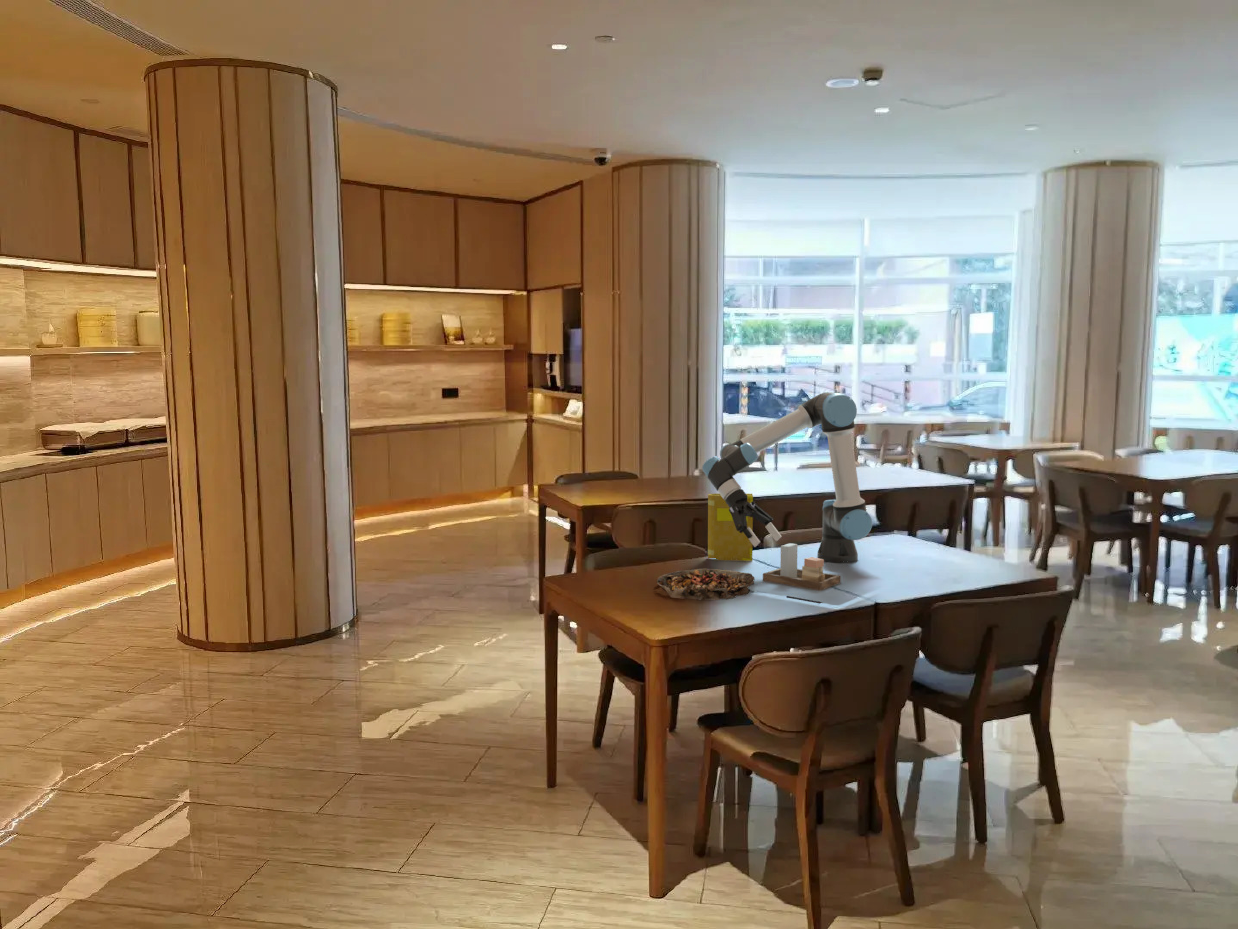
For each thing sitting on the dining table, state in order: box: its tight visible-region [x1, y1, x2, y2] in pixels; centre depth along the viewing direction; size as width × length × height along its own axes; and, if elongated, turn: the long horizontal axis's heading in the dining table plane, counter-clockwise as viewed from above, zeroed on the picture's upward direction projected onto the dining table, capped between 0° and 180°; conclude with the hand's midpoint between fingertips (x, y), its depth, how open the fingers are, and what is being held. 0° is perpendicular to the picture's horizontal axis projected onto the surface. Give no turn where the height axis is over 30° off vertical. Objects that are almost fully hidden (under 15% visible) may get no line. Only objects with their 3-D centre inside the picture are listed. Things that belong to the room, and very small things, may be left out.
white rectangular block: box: [780, 542, 798, 578], centre depth 329 cm, size 6×3×12 cm, turn 139°
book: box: [707, 493, 754, 562], centre depth 368 cm, size 17×7×25 cm, turn 84°
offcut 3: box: [802, 575, 825, 582], centre depth 323 cm, size 5×6×3 cm
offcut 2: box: [801, 565, 824, 577], centre depth 323 cm, size 4×6×3 cm
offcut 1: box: [803, 556, 825, 568], centre depth 323 cm, size 4×5×2 cm
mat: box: [786, 595, 823, 604], centre depth 310 cm, size 12×12×1 cm
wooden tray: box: [762, 568, 842, 591], centre depth 326 cm, size 14×22×4 cm, turn 49°
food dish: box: [656, 567, 756, 601], centre depth 323 cm, size 35×33×8 cm
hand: (768, 541), depth 333 cm, fingers open, 13 cm apart
